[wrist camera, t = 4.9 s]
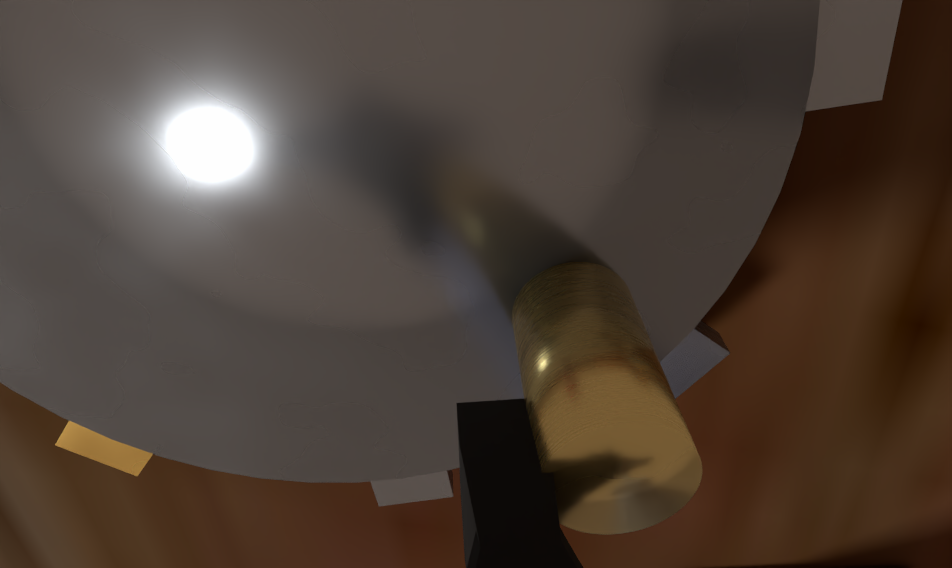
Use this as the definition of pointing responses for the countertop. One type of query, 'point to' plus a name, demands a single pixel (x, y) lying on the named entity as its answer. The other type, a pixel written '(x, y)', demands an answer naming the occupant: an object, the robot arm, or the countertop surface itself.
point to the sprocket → (398, 225)
